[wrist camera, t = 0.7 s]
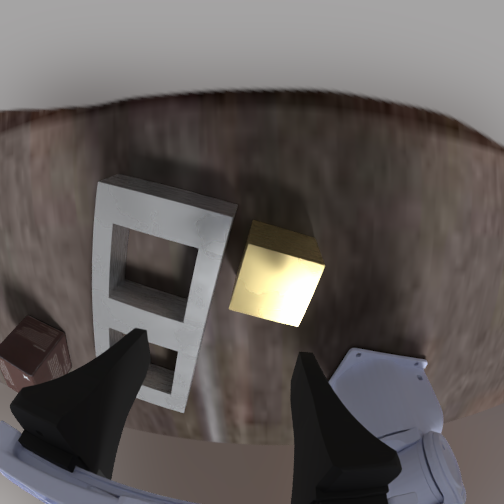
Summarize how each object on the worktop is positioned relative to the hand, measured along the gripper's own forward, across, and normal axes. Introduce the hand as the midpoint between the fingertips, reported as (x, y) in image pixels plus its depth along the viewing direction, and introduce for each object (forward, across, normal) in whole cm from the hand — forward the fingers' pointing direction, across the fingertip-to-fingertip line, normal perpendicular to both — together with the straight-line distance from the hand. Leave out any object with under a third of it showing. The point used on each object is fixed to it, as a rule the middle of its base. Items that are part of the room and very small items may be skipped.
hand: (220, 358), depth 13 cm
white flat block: (+9, +7, +4) cm, 12 cm away
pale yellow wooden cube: (+10, -2, -1) cm, 10 cm away
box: (+10, +21, +13) cm, 27 cm away
